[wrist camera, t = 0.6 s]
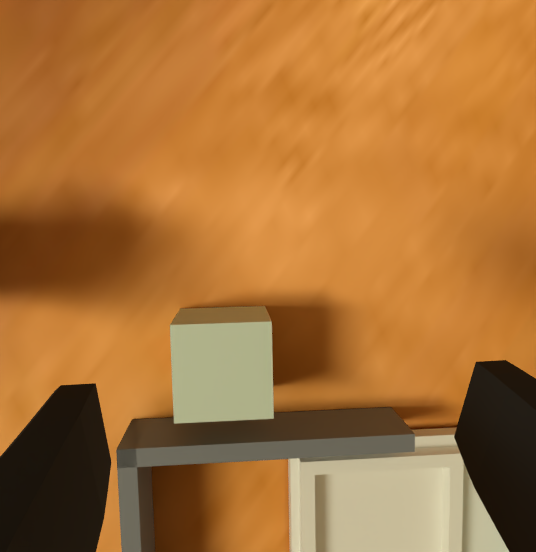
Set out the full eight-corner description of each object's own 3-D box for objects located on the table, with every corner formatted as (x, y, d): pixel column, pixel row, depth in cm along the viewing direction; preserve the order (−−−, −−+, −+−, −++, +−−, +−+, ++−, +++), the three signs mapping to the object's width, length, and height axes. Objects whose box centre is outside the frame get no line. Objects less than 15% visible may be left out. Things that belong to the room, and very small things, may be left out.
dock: (389, 612, 32) (412, 668, 28) (142, 632, 30) (129, 692, 26) (390, 407, 30) (414, 434, 26) (132, 419, 29) (116, 449, 25)
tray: (532, 599, 32) (587, 667, 27) (290, 618, 31) (302, 693, 26) (539, 407, 31) (598, 442, 26) (287, 420, 29) (298, 459, 25)
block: (266, 386, 30) (273, 418, 25) (183, 390, 29) (174, 423, 24) (264, 305, 29) (271, 321, 24) (180, 308, 29) (169, 325, 24)
